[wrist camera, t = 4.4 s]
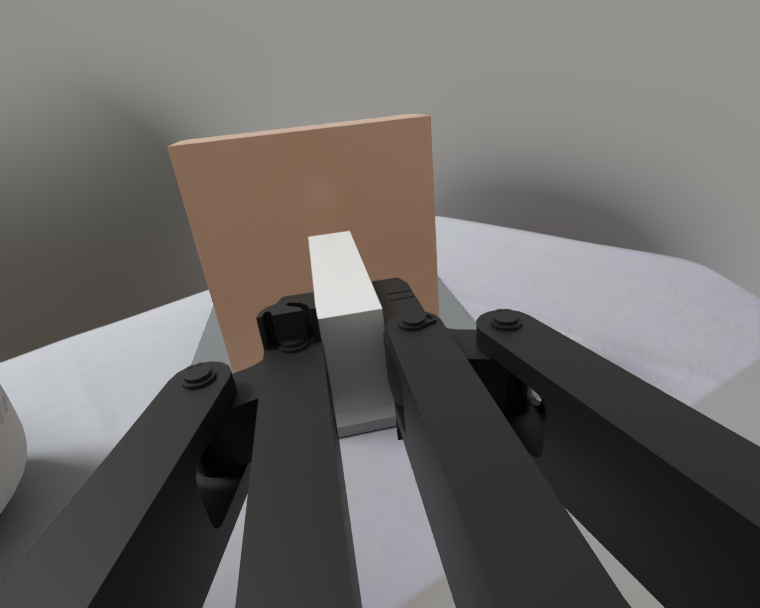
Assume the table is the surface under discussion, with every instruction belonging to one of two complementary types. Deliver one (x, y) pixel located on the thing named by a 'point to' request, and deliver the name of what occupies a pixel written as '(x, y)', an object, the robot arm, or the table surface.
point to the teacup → (10, 450)
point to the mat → (355, 420)
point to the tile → (307, 212)
